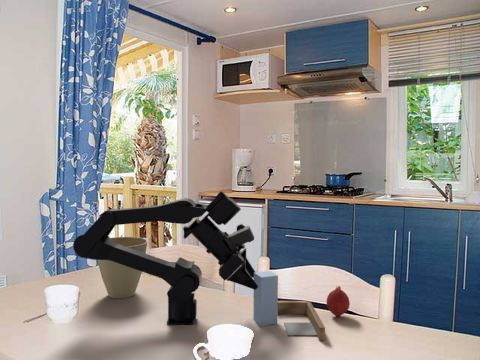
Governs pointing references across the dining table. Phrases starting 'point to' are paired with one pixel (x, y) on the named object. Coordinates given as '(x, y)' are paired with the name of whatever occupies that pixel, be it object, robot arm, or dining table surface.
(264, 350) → the dining table surface
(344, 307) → the onion
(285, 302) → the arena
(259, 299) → the block
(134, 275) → the plant pot
